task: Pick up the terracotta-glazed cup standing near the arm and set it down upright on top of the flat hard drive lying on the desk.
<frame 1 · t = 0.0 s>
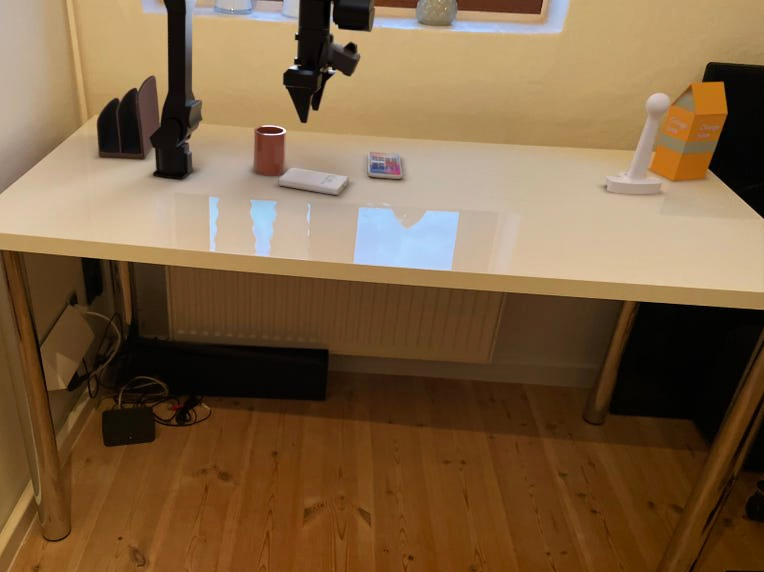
hand: (309, 116, 139), 15 cm above the table, tool pointing down, fingers open, 9 cm apart
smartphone: (384, 168, 161), on the table
hard drive: (313, 185, 150), on the table
cup: (269, 170, 156), on the table
joystick: (628, 188, 158), on the table
orange juice: (676, 175, 167), on the table
letter holder: (131, 145, 167), on the table
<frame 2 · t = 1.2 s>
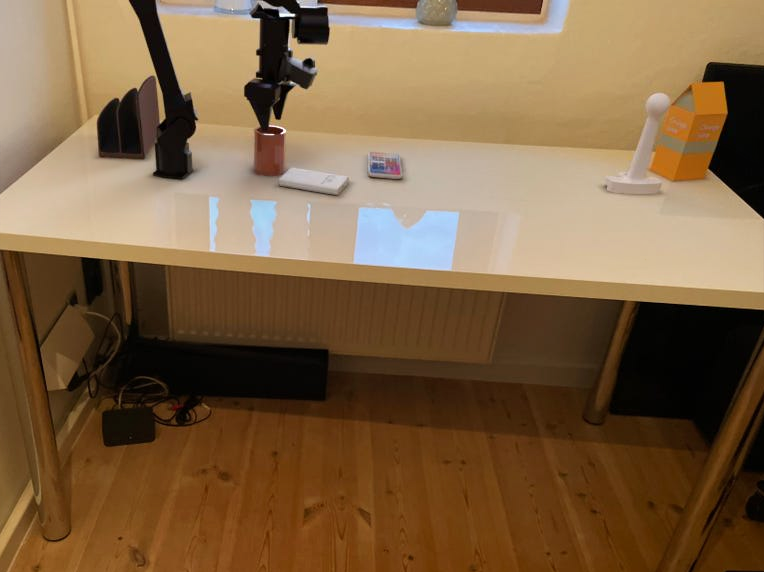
hand: (271, 125, 150), 10 cm above the table, tool pointing down, fingers open, 9 cm apart
nothing on the table moved.
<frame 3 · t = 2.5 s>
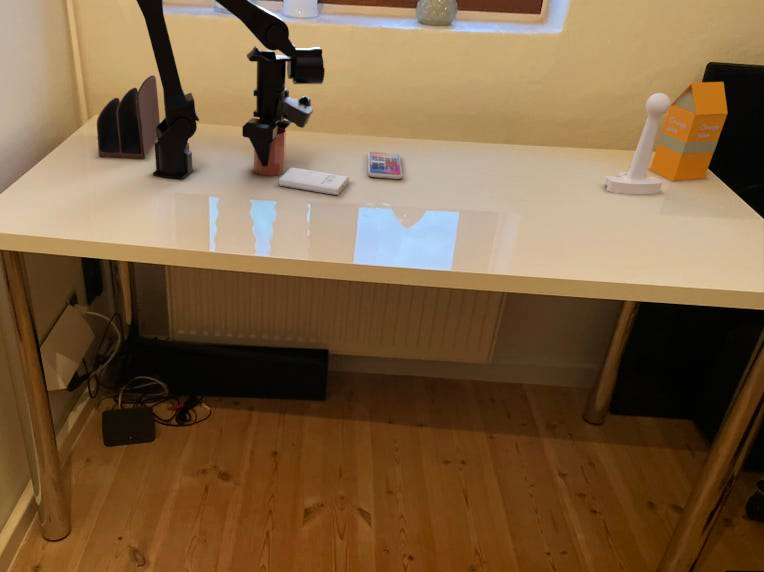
hand: (269, 161, 155), 2 cm above the table, tool pointing down, fingers closed on cup, 6 cm apart
cup: (269, 170, 156), on the table, touching gripper
everything else where it was.
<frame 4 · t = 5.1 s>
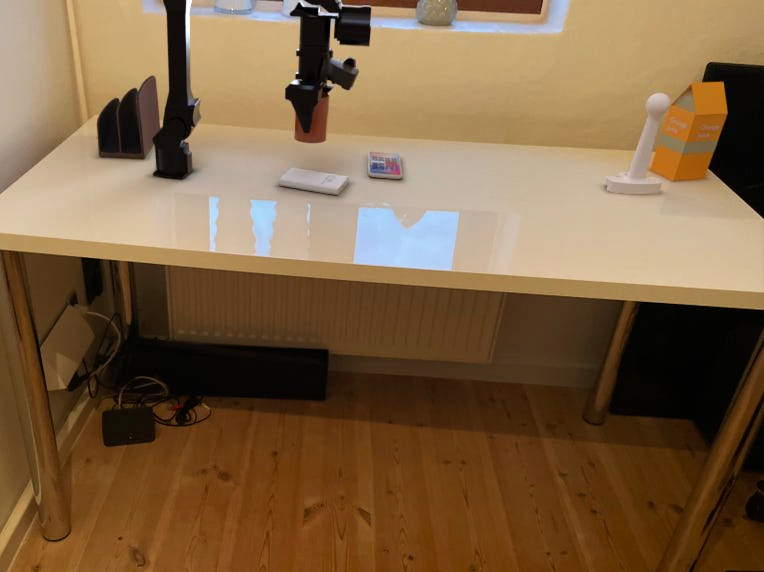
hand: (310, 128, 145), 11 cm above the table, tool pointing down, fingers closed on cup, 6 cm apart
cup: (310, 138, 146), point 9 cm above the table, touching gripper
everything else where it was.
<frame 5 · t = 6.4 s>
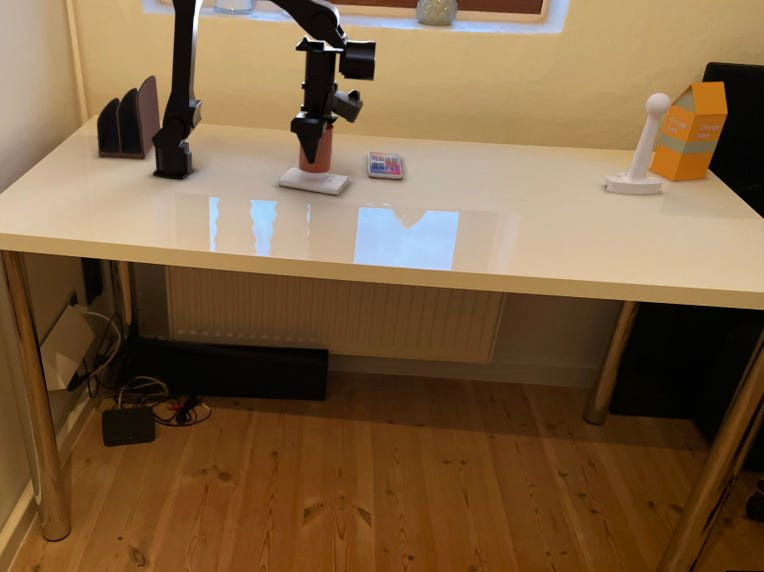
hand: (315, 158, 147), 6 cm above the table, tool pointing down, fingers closed on cup, 6 cm apart
cup: (314, 168, 148), point 3 cm above the table, touching gripper
everything else where it was.
when the fingers open (4 cm above the table, at t = 7.5 s): cup stays where it is, resting on hard drive.
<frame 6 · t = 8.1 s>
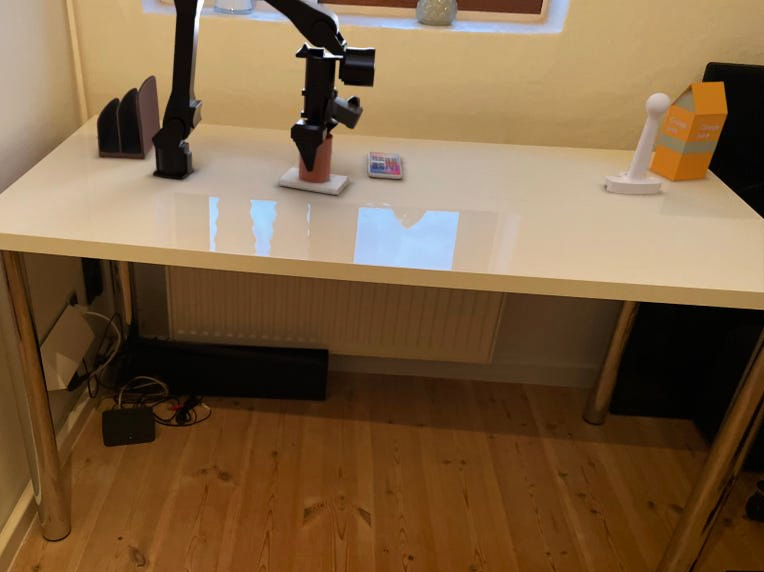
hand: (315, 164, 148), 4 cm above the table, tool pointing down, fingers open, 9 cm apart
hard drive: (313, 185, 150), on the table, touching cup
cup: (314, 177, 149), point 2 cm above the table, touching hard drive
everything else where it was.
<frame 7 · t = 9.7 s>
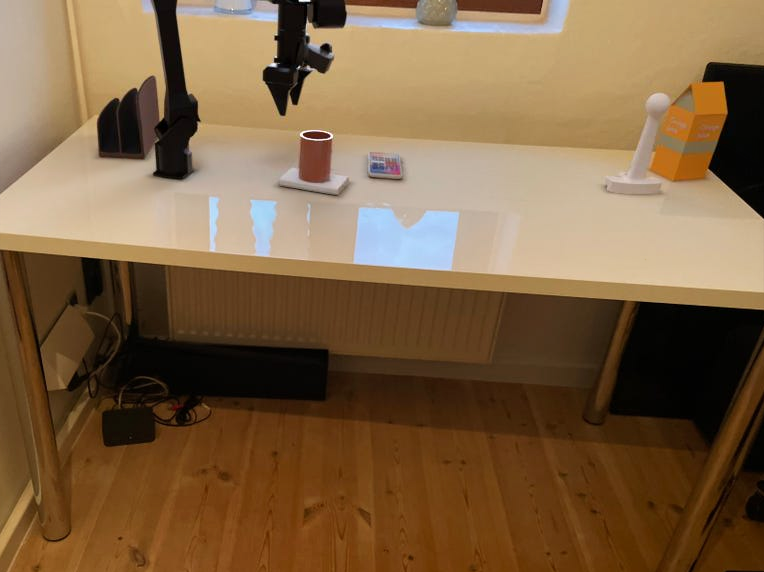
hand: (289, 110, 152), 12 cm above the table, tool pointing down, fingers open, 9 cm apart
nothing on the table moved.
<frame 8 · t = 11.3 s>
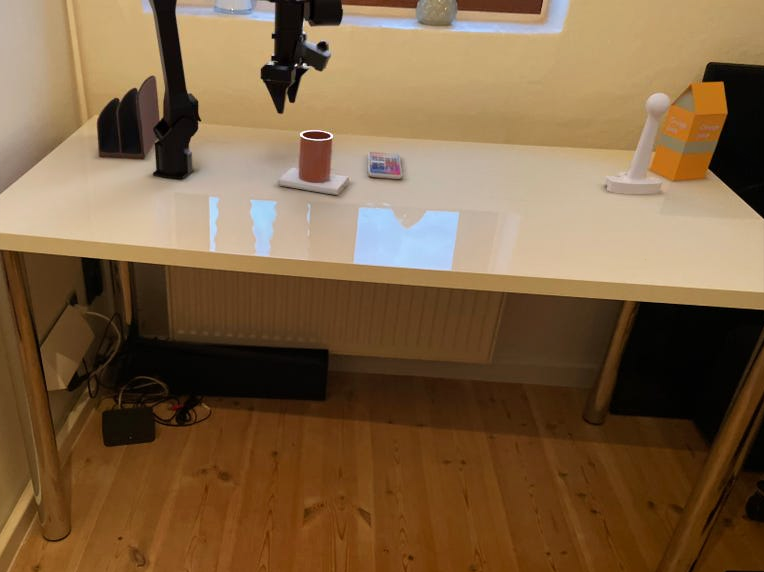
hand: (286, 108, 153), 12 cm above the table, tool pointing down, fingers open, 9 cm apart
nothing on the table moved.
at the end: cup 0.0 cm from the hard drive (horizontally); cup point 1.6 cm above the table; cup tilted 0° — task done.
